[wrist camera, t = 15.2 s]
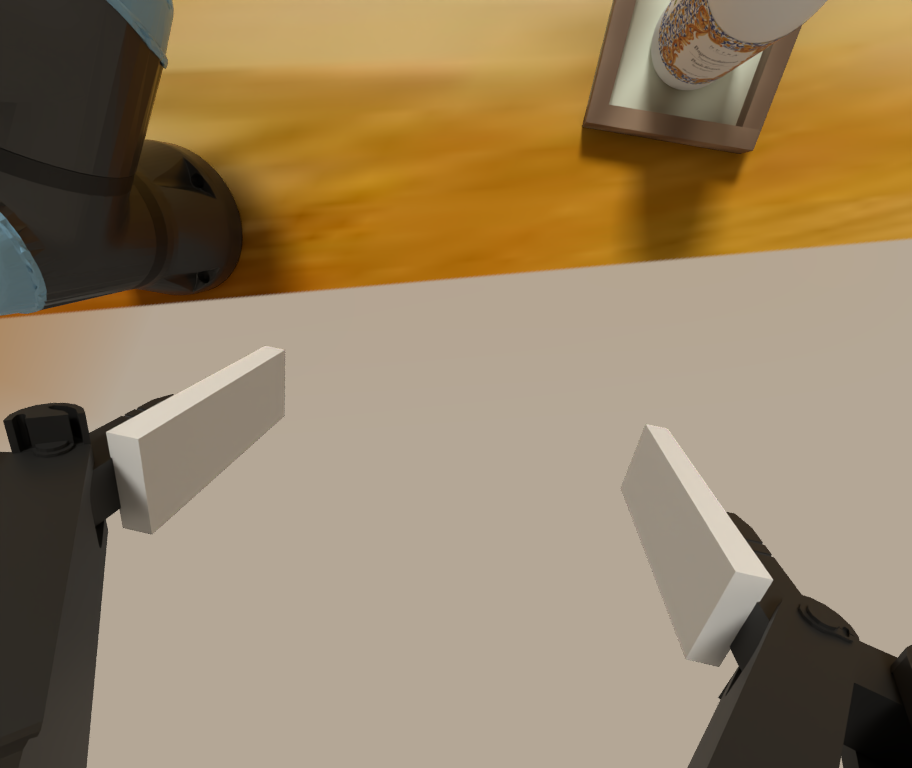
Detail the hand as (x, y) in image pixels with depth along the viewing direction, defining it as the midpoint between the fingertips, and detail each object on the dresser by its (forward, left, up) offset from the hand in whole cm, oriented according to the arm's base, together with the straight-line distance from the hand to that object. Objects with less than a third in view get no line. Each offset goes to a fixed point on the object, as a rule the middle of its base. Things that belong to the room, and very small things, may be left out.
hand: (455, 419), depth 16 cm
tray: (+12, +22, -32) cm, 40 cm away
